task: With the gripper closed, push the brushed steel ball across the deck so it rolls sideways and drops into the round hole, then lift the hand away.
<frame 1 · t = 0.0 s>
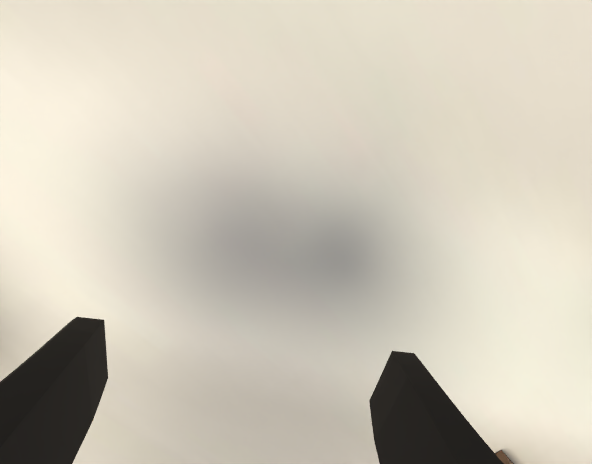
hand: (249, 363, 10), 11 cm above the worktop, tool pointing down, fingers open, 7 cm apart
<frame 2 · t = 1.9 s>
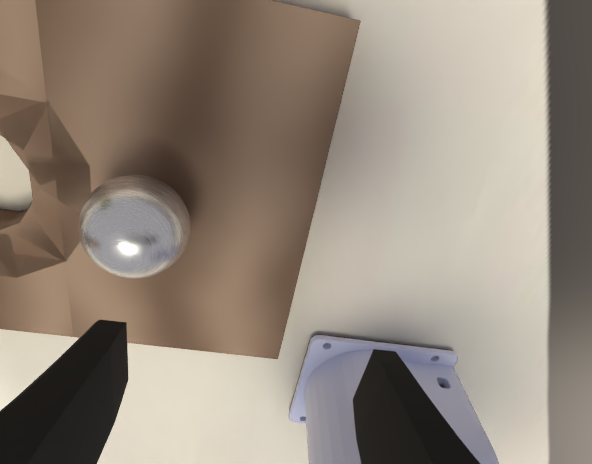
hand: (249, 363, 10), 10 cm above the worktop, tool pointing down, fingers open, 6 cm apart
deck: (98, 175, 18), on the worktop
ball: (137, 226, 15), point 4 cm above the worktop, touching deck
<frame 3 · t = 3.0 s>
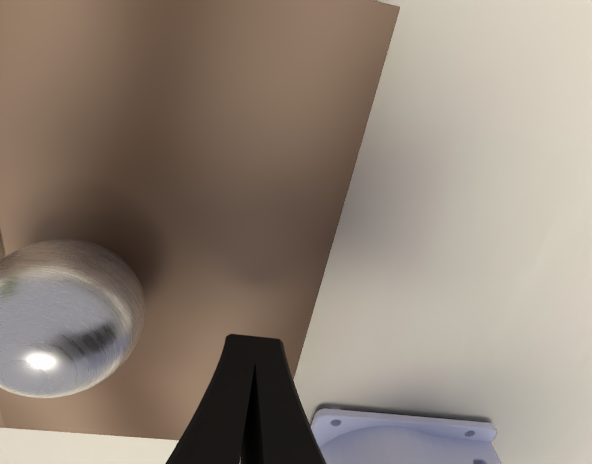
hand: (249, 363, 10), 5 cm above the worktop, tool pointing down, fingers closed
deck: (26, 224, 13), on the worktop
ball: (63, 315, 10), point 4 cm above the worktop, touching deck
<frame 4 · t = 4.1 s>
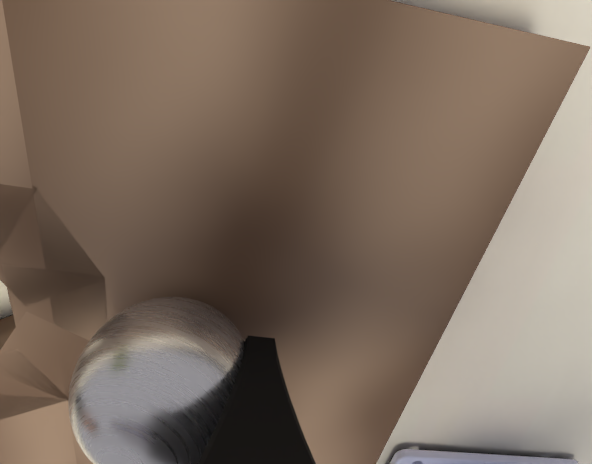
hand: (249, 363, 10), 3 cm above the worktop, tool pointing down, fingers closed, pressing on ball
deck: (114, 271, 12), on the worktop
ball: (167, 383, 9), point 4 cm above the worktop, tilted 14°, touching deck, gripper
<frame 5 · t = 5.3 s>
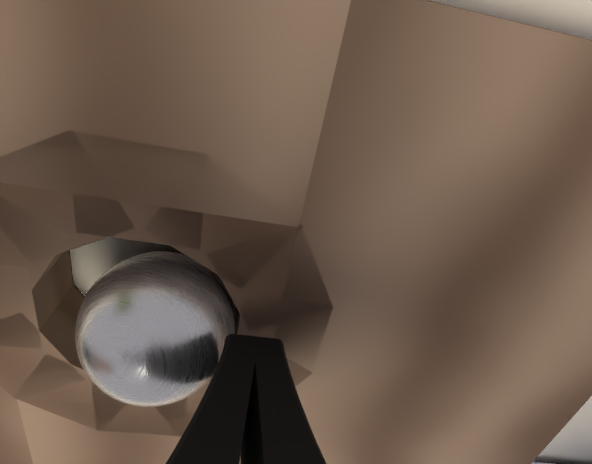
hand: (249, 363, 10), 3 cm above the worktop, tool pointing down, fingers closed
deck: (300, 294, 13), on the worktop
ball: (160, 325, 10), point 2 cm above the worktop, tilted 158°
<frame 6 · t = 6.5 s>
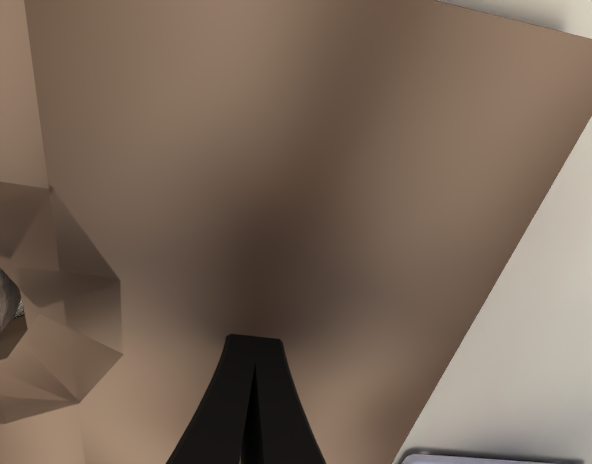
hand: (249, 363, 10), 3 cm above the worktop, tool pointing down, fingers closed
deck: (126, 272, 12), on the worktop
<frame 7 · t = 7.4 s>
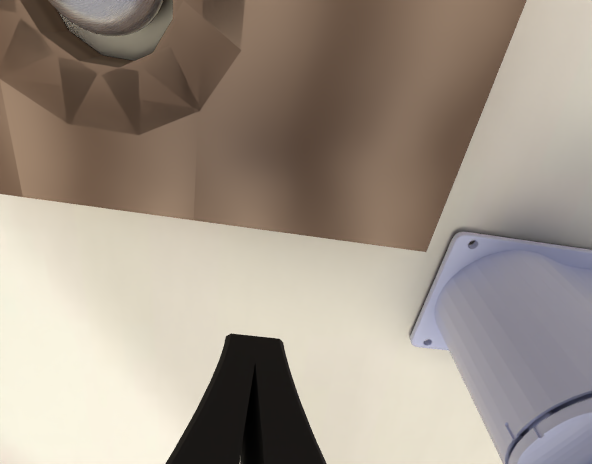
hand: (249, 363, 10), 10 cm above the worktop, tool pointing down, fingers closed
deck: (236, 6, 15), on the worktop
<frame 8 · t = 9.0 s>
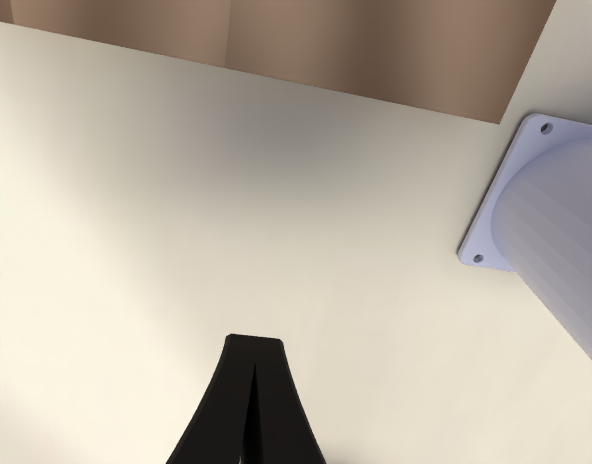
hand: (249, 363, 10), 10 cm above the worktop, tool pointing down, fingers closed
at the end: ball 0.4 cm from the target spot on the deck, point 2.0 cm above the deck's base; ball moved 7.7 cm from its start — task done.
